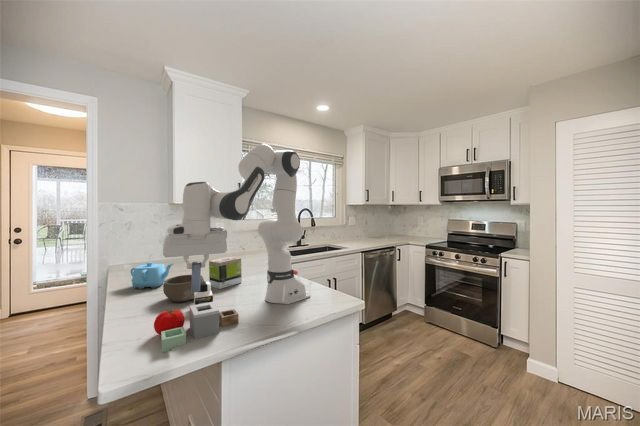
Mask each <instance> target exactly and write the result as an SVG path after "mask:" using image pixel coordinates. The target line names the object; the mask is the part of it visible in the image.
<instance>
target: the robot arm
mask: <svg viewBox="0 0 640 426" xmlns="http://www.w3.org/2000/svg"><path fill="white" fill-rule="evenodd" d="M300 164H301V159H300V156H299V155H298V153H297V152H296V151H294V150H291V149H290V150H289V149H288V150H276V151H275V150H274V149H273V148H272V147H271V146H270V145H268V144H265V143H259V145H257V146H255V147H254V148H252V149H250V151H249V152H247V153H246V155H245V156H243V157H242V158H241V159H240V161H239V164H238V165H237V166H238V172H239V175H240V176H241V178H243V180H244V181H243V182H241V183H242V184H241V185H240V186H239V188H238V189H236V190H234V191H227V192H220V191H219V190H216V189H215V188H214V187H212V186H211V185H210V184H209V182H208V181H195V182H189V183H187V184H185V185H184V189H183V193H182V210H183V216H182V219H181V221H182V223H179V224H176V225H173V226H169V227H168V228H167V230H166V231H167V235H166V236H165V238H164V241H163V246H162V256H163V257H165V258H177V257H178V258H179V257H182V258H183V260H184V262H185V263H186V269H187V270H192V262H189V261H188V260H189V258H190V257H191V256H203V260H202V261H200V262H201V269H203V268H206V263H207V262H208V261H209V258H210V255H218V254H219V255H220V254H226V252H227V251H228V245H227V244H228V243H227V239H228V231H227V229H226V228H224V227H211V218H212V219H224V220H225V219H226V220H229V221H230V220H231V221H240V220H242V219H244V218H245V216H246V215H247V213H248V212H249V209H250V205H251V203H252V201H253V199H254V197H255V196H256V195H257V193H258V191H259V190H260V188H261V186H262V185H263V182H264V181H265V177H266V176H267V175H268V176H270V175H273V176H274V175H275V178H276V180H275V184H274V189H273V195H272V202H271V206H272V208H273V210H275V211H276V215H277V218H270V219H269V218H268V219H264V220H262V221H261V222H260V223H258V226H257V234H258V236H259V237H260V238H261V239H262V241H263V243H264V245H265V249H266V253H267V271H266V272H267V273H266V279H267V280H266V282H267V285H266V292H265V296H264V301H266V302H267V303H272V304H284V305H290V304H292V303H296V302H298V301H303V300H304V299H305V300H306V299H308V298H310V297H311V294H310V292H308V291H307V290H306V285H305V284H304V282H303V281H301V280H300V279H299V278H297V277H296V276H297V275H298V274H299V271H298V270H294V269H292V256H291V255H292V254H291V252H290V251H289V250H288V249H287V248H286V245H285V244H290V243H291V244H292V243H297V242H298V241H300V240H301V238H302V236H303V233H304V232H303V227H302V225H301V223H300V222H299V221H298V218H297V215H296V210H295V209H296V206H295V205H296V197H297V190H298V188H297V187H298V186H297V185H298V183H297V182H298V181H297V180H298V179H297V173H298V171H299V168H300V166H301V165H300ZM189 256H190V257H189Z"/></svg>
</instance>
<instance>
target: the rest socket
mask: <svg viewBox="0 0 640 426" xmlns="http://www.w3.org/2000/svg"><path fill="white" fill-rule="evenodd" d="M160 340H161V341H160V342H161V343H160V344H161V350H162V353H167V352H169V351H172V348H175V347H178V346H183V345H187V333H186V330H185V326H183V327H180V328H175V329H170V330H166V331H161V336H160Z"/></svg>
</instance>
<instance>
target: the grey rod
mask: <svg viewBox="0 0 640 426" xmlns="http://www.w3.org/2000/svg"><path fill="white" fill-rule="evenodd" d="M201 262H202V261H191V263H192V269H191V275H192V283H191V292H199V291H200V277H201V276H202V275H201V274H202V273H201V269H202V268H201Z"/></svg>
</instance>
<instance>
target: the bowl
mask: <svg viewBox="0 0 640 426" xmlns="http://www.w3.org/2000/svg"><path fill="white" fill-rule="evenodd" d="M204 281H205V280H204V276H202V275H201V277H200V282H204ZM191 283H192V274H181V275H177V276H173V277H170V278H167V279H165V282H163V283H162V285H163V286H162V288H163V294H164V295H165V297H166V298H167V299H169V300H170V301H172V302H178V303H179V302H180V303H181V302H183V303H184V302H188V301H192V300H194V293H195V292H191Z"/></svg>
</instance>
